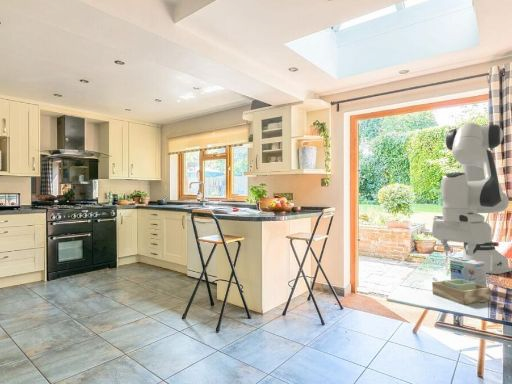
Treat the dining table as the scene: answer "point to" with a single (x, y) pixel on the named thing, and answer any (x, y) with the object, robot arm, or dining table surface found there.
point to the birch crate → (462, 293)
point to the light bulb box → (468, 270)
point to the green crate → (460, 284)
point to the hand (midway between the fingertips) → (457, 253)
